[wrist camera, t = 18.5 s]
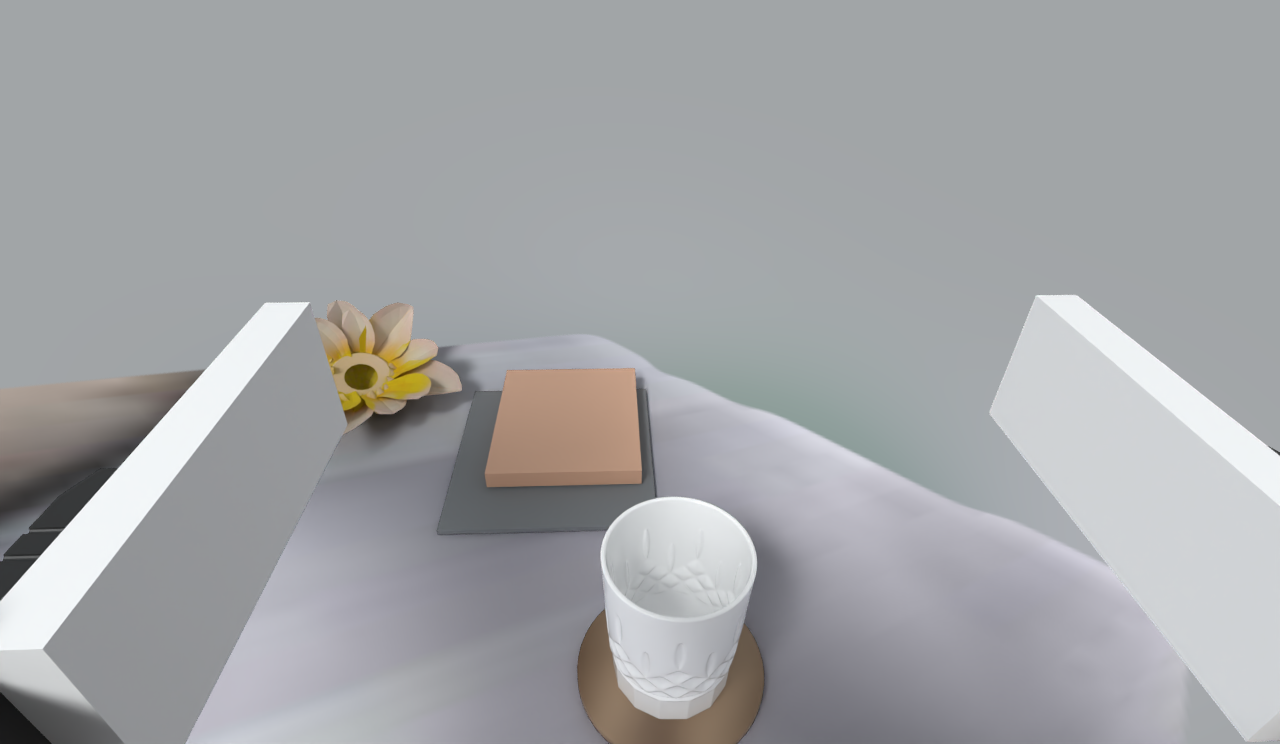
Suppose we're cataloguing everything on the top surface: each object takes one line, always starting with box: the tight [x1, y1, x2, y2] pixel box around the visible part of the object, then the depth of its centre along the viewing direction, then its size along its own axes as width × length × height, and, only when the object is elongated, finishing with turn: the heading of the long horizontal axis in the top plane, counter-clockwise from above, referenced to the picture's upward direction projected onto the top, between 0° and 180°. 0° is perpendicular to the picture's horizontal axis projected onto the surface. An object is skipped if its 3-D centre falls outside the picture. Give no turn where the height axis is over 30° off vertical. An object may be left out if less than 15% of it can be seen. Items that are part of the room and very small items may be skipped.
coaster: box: [577, 609, 764, 744], centre depth 39 cm, size 11×11×1 cm
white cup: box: [600, 497, 757, 719], centre depth 36 cm, size 8×8×10 cm
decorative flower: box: [315, 300, 462, 435], centre depth 56 cm, size 15×11×10 cm
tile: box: [485, 368, 642, 487], centre depth 56 cm, size 12×2×14 cm
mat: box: [437, 389, 655, 535], centre depth 55 cm, size 16×17×1 cm
